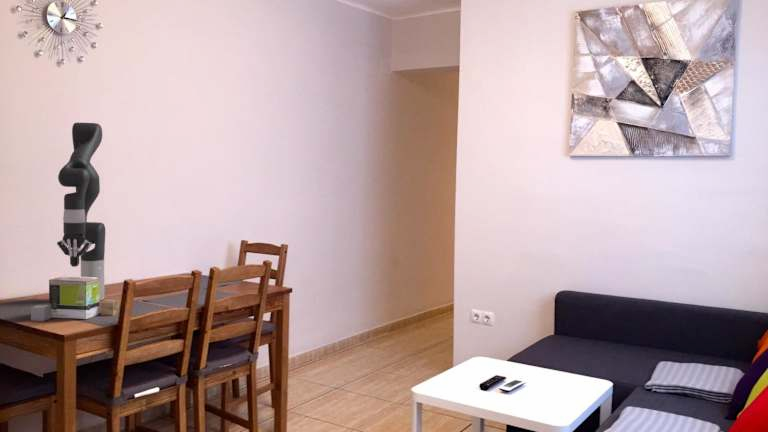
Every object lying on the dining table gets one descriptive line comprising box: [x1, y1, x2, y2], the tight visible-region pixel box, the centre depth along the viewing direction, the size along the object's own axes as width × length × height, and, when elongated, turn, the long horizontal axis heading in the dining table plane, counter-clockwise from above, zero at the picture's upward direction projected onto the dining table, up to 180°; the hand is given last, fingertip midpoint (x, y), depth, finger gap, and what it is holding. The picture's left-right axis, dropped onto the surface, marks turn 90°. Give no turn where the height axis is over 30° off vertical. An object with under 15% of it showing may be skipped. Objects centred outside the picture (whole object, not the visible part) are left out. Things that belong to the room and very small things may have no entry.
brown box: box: [100, 299, 120, 316], centre depth 256 cm, size 5×5×5 cm
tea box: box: [48, 275, 101, 320], centre depth 250 cm, size 15×10×15 cm
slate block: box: [30, 303, 53, 322], centre depth 244 cm, size 5×5×5 cm
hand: (74, 266), depth 249 cm, fingers closed
